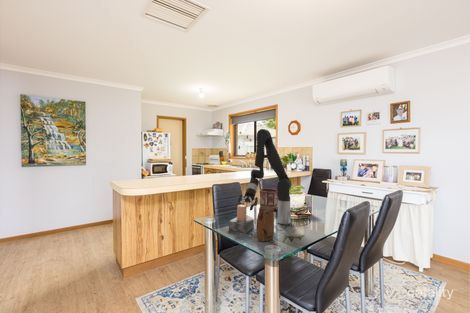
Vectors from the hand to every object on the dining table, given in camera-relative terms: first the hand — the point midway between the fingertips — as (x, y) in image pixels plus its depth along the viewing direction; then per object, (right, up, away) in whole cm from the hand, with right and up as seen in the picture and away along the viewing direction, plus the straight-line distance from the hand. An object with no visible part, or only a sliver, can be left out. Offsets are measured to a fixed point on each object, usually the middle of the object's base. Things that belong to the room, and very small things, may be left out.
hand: (245, 209), depth 163 cm
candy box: (+52, -13, +36) cm, 64 cm away
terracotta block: (-2, -7, -3) cm, 8 cm away
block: (+11, -14, -22) cm, 28 cm away
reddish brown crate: (+24, -12, +48) cm, 55 cm away
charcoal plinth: (-3, -13, -3) cm, 13 cm away
